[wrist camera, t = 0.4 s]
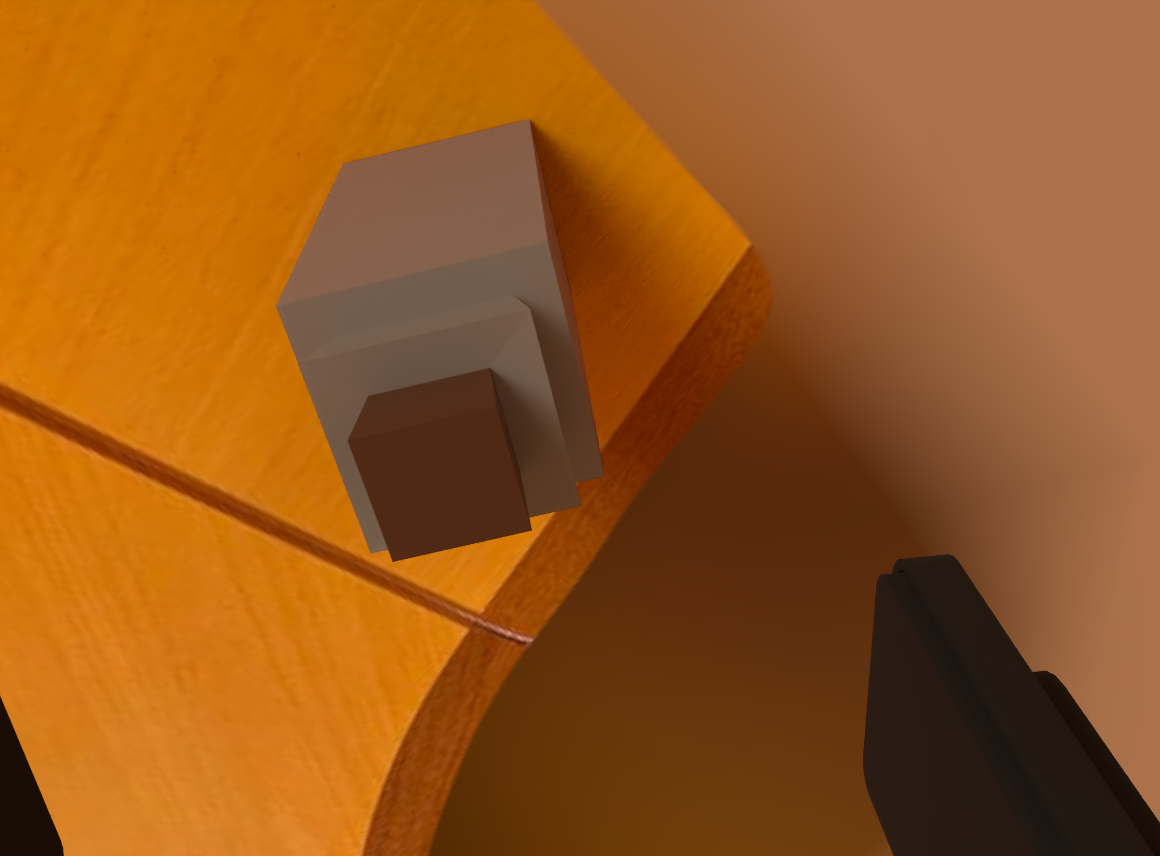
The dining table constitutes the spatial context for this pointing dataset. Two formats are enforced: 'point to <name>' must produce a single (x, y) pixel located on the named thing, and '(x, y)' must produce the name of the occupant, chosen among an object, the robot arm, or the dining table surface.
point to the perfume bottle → (444, 343)
